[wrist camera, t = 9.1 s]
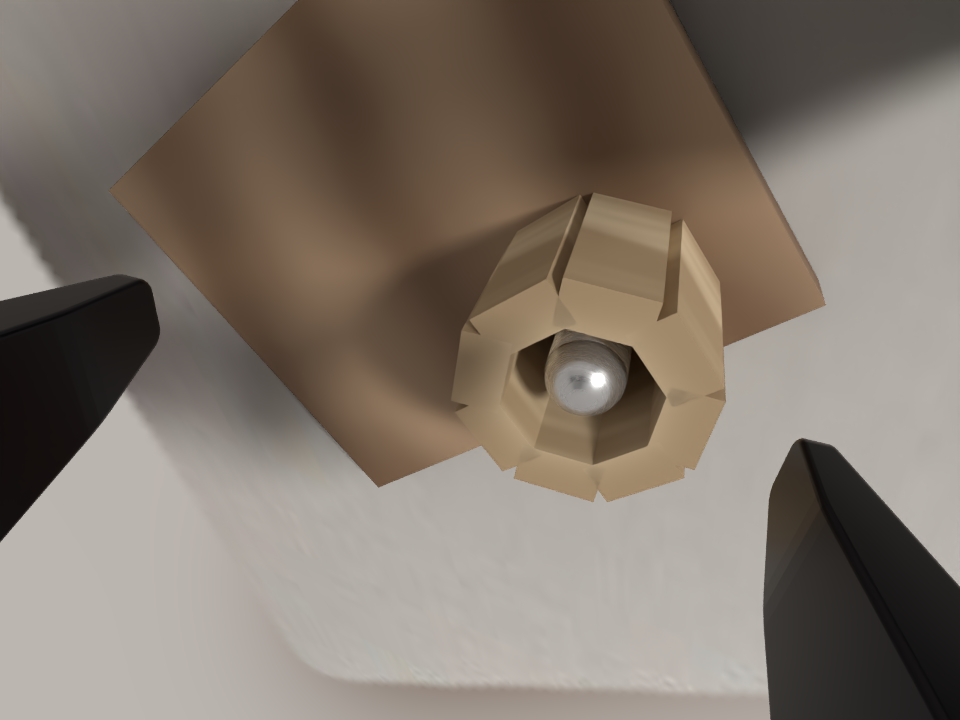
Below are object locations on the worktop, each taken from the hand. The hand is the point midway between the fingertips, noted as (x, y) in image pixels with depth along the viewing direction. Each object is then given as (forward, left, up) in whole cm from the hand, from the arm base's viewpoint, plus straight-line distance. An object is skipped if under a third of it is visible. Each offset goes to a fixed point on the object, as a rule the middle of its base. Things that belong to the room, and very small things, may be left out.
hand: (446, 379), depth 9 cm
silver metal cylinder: (+2, +4, -11) cm, 12 cm away
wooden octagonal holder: (+2, +4, -11) cm, 12 cm away
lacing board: (+5, 0, -12) cm, 13 cm away
